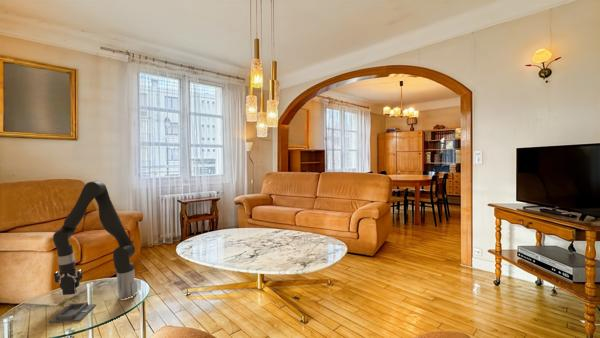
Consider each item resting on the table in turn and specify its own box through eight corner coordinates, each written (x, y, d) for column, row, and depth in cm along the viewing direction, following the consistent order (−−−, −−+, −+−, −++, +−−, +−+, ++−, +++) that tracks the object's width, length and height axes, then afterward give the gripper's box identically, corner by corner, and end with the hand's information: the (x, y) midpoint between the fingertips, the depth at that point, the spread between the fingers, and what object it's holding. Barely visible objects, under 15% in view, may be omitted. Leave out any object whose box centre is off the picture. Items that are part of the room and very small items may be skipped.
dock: (95, 305, 166) (95, 300, 166) (80, 321, 152) (80, 315, 152) (66, 307, 164) (65, 302, 164) (47, 323, 150) (47, 318, 150)
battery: (79, 290, 171) (76, 273, 170) (75, 294, 168) (72, 276, 166) (66, 292, 170) (64, 274, 169) (62, 295, 167) (59, 277, 165)
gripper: (83, 257, 171) (86, 283, 173) (57, 259, 169) (61, 285, 171) (75, 263, 164) (79, 290, 166) (48, 265, 162) (52, 292, 164)
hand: (70, 287), depth 169 cm, fingers closed on battery, 7 cm apart
